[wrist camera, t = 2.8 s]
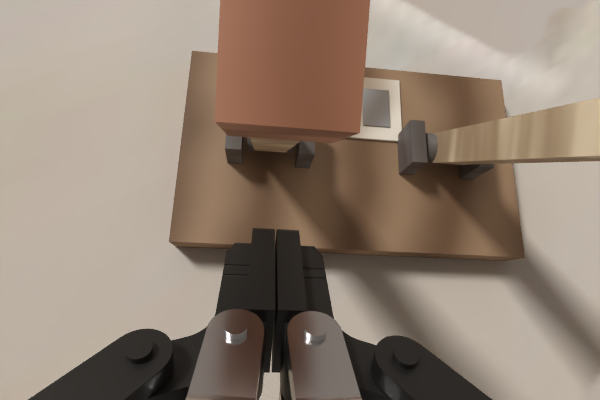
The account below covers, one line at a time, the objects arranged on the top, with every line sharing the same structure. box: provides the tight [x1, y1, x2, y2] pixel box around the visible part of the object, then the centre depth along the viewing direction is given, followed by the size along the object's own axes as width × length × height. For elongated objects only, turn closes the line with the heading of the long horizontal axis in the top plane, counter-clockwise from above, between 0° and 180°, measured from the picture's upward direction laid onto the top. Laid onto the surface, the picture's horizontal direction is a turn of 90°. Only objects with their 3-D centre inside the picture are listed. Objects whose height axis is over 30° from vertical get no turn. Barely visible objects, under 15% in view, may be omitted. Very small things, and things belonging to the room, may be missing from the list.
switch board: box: [169, 51, 525, 261], centre depth 27 cm, size 24×14×4 cm, turn 88°
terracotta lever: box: [215, 0, 370, 153], centre depth 17 cm, size 3×3×19 cm
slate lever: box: [426, 98, 600, 165], centre depth 18 cm, size 3×3×19 cm
